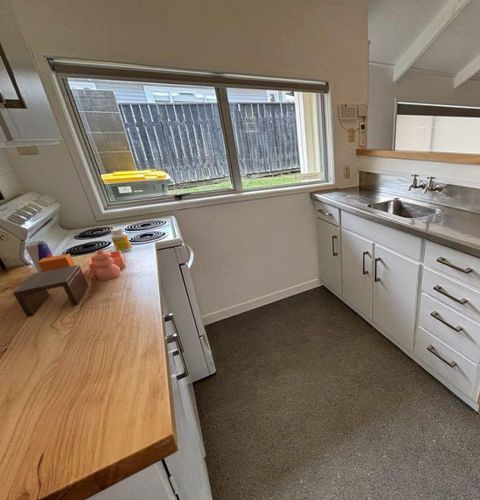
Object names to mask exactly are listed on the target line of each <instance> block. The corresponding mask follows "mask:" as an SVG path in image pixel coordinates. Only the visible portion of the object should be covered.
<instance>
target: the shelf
mask: <svg viewBox="0 0 480 500" xmlns="http://www.w3.org/2000/svg"><path fill="white" fill-rule="evenodd" d="M60 287H62V288H63V290H64V291H65V293H66V295H67V297H68V300H69V301H70V304H71V306H72V307H75V306H79V304H80V303H81V301H82V299H83V297H84V296H85V295H86V292H87V291H88V289H89V288H90V285H89V283H88V281H87V278H86V277H85V274H84V272H83V270H82V268H81V266H80V264H76V265H75V266H71V267H65V268H60V269H55V270H50V271H45V272H40V273H38V272H36V273H32V274H31V275H29V276H28V277H27V279H25V280H24V282H22V283H21V284H20V285H19V286H18V287H17V288H15V290H14V291H13V292H12V294H13V296H14V297H15V299H16V301H17V303H18V305H19V306H20V307H21V309H22V311H23V313H24V314H25V317H27V318H30V317H34V315H35V314H36V313H37V312H38V311H39V309H41V306H43V304H44V303H45V302H46V300H47V299H49V297H50V295H51V294H50V293H49V291H48V290H52V289H56V288H60Z"/></svg>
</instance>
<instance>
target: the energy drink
mask: <svg viewBox="0 0 480 500" xmlns="http://www.w3.org/2000/svg"><path fill="white" fill-rule="evenodd" d="M24 248H25V250H26V252H27V254H28V257H30V260H31V261H32V263H33V265H34V267H35V269H36V271H37V273H40V272H42V270H41V268H40V266H39V264H38V262H39V261H40V260H41V259H42V258H48V257H53V252H52V251H51V249H50V247H49V245H48V243H47V242H46V241H45V240H38V241H32V242H29V243H26V244H24Z"/></svg>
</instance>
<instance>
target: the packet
mask: <svg viewBox="0 0 480 500" xmlns="http://www.w3.org/2000/svg"><path fill="white" fill-rule="evenodd" d="M38 264H39V266H40V268H41V270H42V272H45V271H50V270H55V269H60V268H65V267H71V266H76V265H75V262H74V260H73V258H72V256H71V254H70V253H64V254H59V255H54V256H53V257H48V258H42V259H41V260H40V261H39V262H38Z"/></svg>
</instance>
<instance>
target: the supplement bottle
mask: <svg viewBox="0 0 480 500" xmlns="http://www.w3.org/2000/svg"><path fill="white" fill-rule="evenodd" d="M110 232H111V235H110V239H111V240H112V241H111V242H112V243H113V246H114V248H115V251H119V250H121V253H125V252H128V251H130V250H132V248H133V247H132V245H131V242H130V240H129V237H128V234H127V233H126V232H125V231H124V229H123V227H115V228H112V229H110Z"/></svg>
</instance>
